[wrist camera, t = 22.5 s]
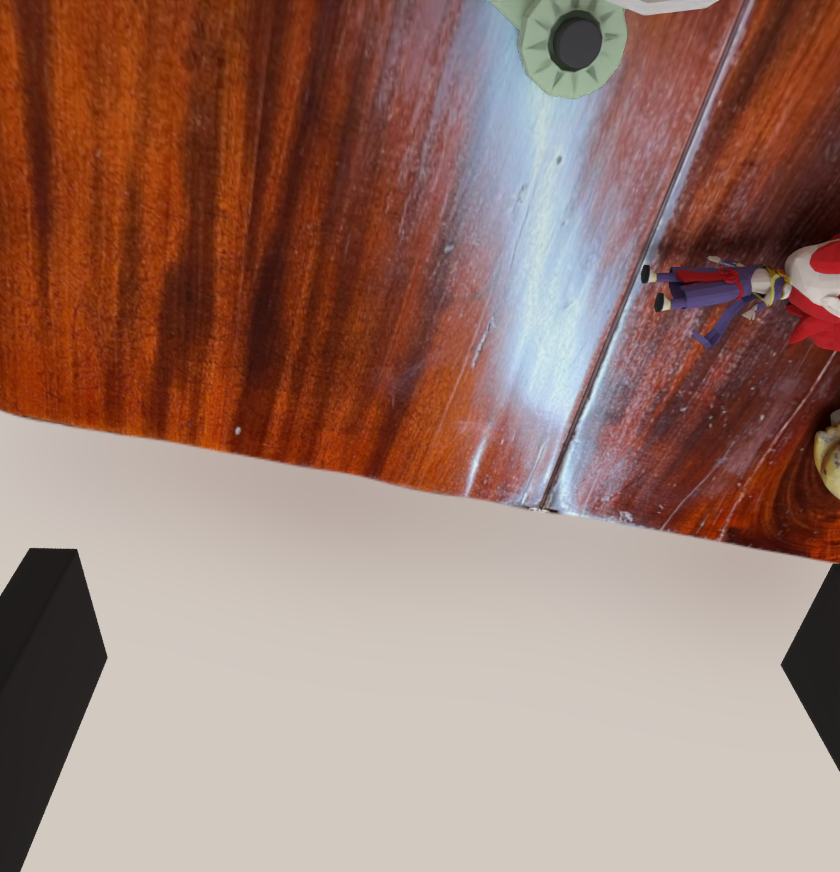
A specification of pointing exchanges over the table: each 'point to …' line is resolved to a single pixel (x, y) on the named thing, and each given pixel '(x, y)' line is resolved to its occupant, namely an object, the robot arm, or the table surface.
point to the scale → (537, 23)
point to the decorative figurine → (829, 454)
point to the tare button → (577, 42)
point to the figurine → (763, 291)
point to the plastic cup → (661, 5)
